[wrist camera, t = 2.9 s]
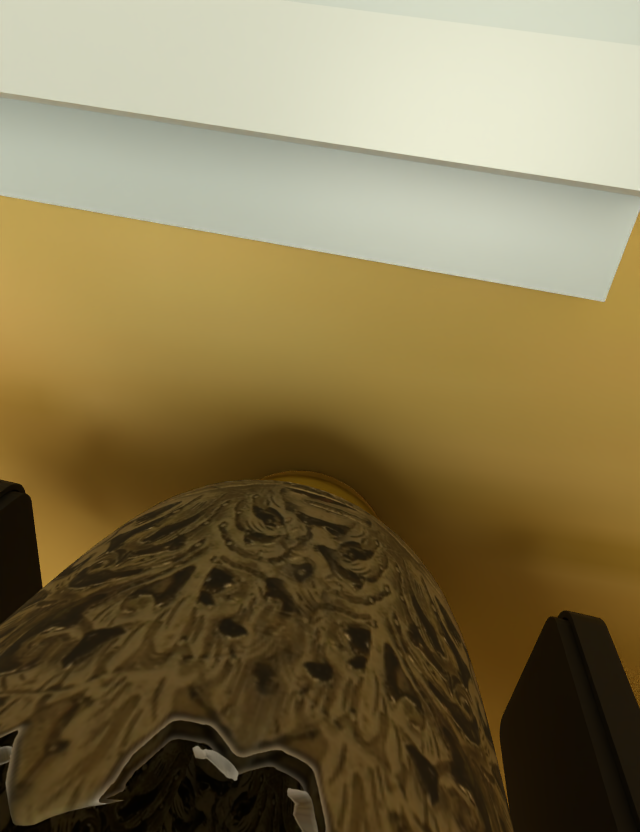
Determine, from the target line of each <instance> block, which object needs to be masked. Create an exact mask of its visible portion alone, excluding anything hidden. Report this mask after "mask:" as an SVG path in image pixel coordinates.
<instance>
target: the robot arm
mask: <svg viewBox="0 0 640 832" xmlns="http://www.w3.org/2000/svg"><path fill="white" fill-rule="evenodd" d="M41 589H42V580H41V572H40V564H39V556H38V548H37V540H36V533H35V525H34V517H33V509H32V501H31V498H30V496H29V495H27V494H26V493H25V490H24V488H23V487H22V485H20V484H17V483H13V482H8V481H4V480H0V624H1V623H2V622H4V621H5V620H6V619H7V618H8V617H9V616H11V615H12V614H13V613H14V612H15V611H17V610H18V609H19V608H20V607H21V606H22V605H24V604H25V603H26V602H27V601H28V600H29V599H31V598H32V597H33V596H34V595H35V594H37V593H38V592H39V591H40V590H41ZM500 744H501V751H502V758H503V766H504V773H505V780H506V788H507V795H508V803H509V810H510V816H511V820H512V824H513V829H514V832H640V709H639V706H638V704H637V701H636V699H635V696H634V694H633V691H632V689H631V686H630V684H629V681H628V679H627V676H626V674H625V671H624V669H623V666H622V664H621V661H620V659H619V656H618V654H617V651H616V649H615V646H614V644H613V641H612V639H611V636H610V634H609V631H608V629H607V627H606V625H605V623H604V621H603V620H601V619H600V618H596V617H592V616H588V615H583V614H579V613H575V612H570V611H562V612H561V613H560V614H559V616H558V618H557V617H551V616H550V617H549V618H548V619H547V621H546V623H545V625H544V627H543V629H542V631H541V634H540V636H539V638H538V640H537V642H536V644H535V647H534V649H533V651H532V653H531V655H530V657H529V660H528V662H527V664H526V666H525V668H524V670H523V673H522V675H521V677H520V679H519V681H518V684H517V686H516V688H515V690H514V692H513V694H512V697H511V699H510V701H509V703H508V705H507V707H506V710H505V712H504V714H503V716H502V719H501V724H500Z"/></svg>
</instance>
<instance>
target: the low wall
mask: <svg viewBox="0 0 640 832" xmlns="http://www.w3.org/2000/svg"><path fill="white" fill-rule="evenodd" d="M0 195H2V196H7V197H13V198H19V199H24V200H30V201H36V202H41V203H47V204H53V205H58V206H64V207H70V208H75V209H81V210H87V211H92V212H98V213H104V214H109V215H115V216H121V217H126V218H132V219H138V220H143V221H149V222H155V223H160V224H166V225H172V226H177V227H183V228H189V229H194V230H200V231H206V232H211V233H217V234H223V235H228V236H234V237H240V238H245V239H251V240H257V241H262V242H268V243H274V244H279V245H285V246H291V247H296V248H302V249H308V250H313V251H319V252H325V253H330V254H336V255H342V256H347V257H353V258H359V259H364V260H370V261H376V262H381V263H387V264H393V265H398V266H404V267H410V268H415V269H421V270H427V271H432V272H438V273H444V274H449V275H455V276H461V277H466V278H472V279H478V280H483V281H489V282H495V283H500V284H506V285H512V286H517V287H523V288H529V289H534V290H540V291H546V292H551V293H557V294H563V295H568V296H574V297H580V298H585V299H591V300H597V301H602V302H605V299H606V297H607V294H608V292H609V289H610V286H611V284H612V281H613V278H614V276H615V273H616V271H617V268H618V265H619V263H620V260H621V258H622V255H623V252H624V250H625V247H626V244H627V242H628V239H629V237H630V234H631V231H632V229H633V226H634V224H635V221H636V218H637V216H638V213H639V211H640V0H0Z"/></svg>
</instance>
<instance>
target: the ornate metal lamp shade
mask: <svg viewBox="0 0 640 832" xmlns="http://www.w3.org/2000/svg"><path fill="white" fill-rule="evenodd" d="M0 832H514V829H513V824H512V820H511V816H510V812H509V807H508V803H507V799H506V795H505V791H504V786H503V782H502V778H501V774H500V770H499V766H498V761H497V757H496V753H495V749H494V745H493V741H492V737H491V733H490V729H489V725H488V721H487V717H486V713H485V710H484V706H483V702H482V699H481V695H480V691H479V688H478V684H477V681H476V677H475V674H474V671H473V667H472V664H471V661H470V658H469V655H468V652H467V649H466V646H465V643H464V640H463V637H462V634H461V632H460V629H459V627H458V625H457V623H456V620H455V618H454V616H453V613H452V611H451V609H450V607H449V605H448V602H447V600H446V598H445V596H444V594H443V592H442V591H441V589H440V587H439V586H438V584H437V583H436V581H435V579H434V578H433V576H432V575H431V574H430V572H429V571H428V569H427V568H426V566H425V565H424V564H423V562H422V561H421V560H420V559H419V557H418V556H417V555H416V554H415V552H414V551H413V550H412V549H411V548H410V547H409V546H408V545H407V544H406V543H405V542H404V541H403V540H402V539H401V538H400V537H399V536H398V535H397V534H396V533H395V532H393V531H392V530H391V529H390V528H388V527H387V526H386V525H385V524H383V523H382V522H381V521H380V520H379V518H378V517H377V515H376V513H375V512H374V510H373V509H372V507H371V506H370V505H369V504H368V502H367V501H366V500H365V499H364V498H363V497H362V496H361V495H360V494H359V493H357V492H356V491H355V490H354V489H352V488H351V487H349V486H348V485H346V484H345V483H343V482H341V481H339V480H337V479H335V478H332V477H330V476H327V475H324V474H321V473H316V472H311V471H284V472H280V473H275V474H272V475H269V476H266V477H263V478H261V479H259V480H236V481H226V482H221V483H216V484H211V485H206V486H203V487H200V488H197V489H194V490H191V491H188V492H185V493H182V494H179V495H176V496H174V497H171V498H169V499H167V500H165V501H163V502H161V503H159V504H157V505H155V506H154V507H152V508H150V509H148V510H147V511H145V512H143V513H141V514H140V515H138V516H136V517H135V518H133V519H132V520H130V521H129V522H127V523H126V524H124V525H123V526H121V527H120V528H118V529H117V530H116V531H114V532H113V533H111V534H110V535H109V536H107V537H106V538H104V539H103V540H102V541H100V542H99V543H97V544H96V545H95V546H94V547H92V548H91V549H90V550H89V551H87V552H86V553H85V554H84V555H82V556H81V557H80V558H79V559H77V560H76V561H75V562H74V563H72V564H71V565H70V566H69V567H67V568H66V569H65V570H64V571H63V572H61V573H60V574H59V575H58V576H57V577H56V578H54V579H53V580H52V581H51V582H50V583H48V584H47V585H46V586H45V587H44V588H42V589H41V590H40V591H39V592H38V593H37V594H35V595H34V596H33V597H32V598H31V599H29V600H28V601H27V602H26V603H25V604H24V605H22V606H21V607H20V608H19V609H18V610H17V611H15V612H14V613H13V614H12V615H11V616H9V617H8V618H7V619H6V620H5V621H4V622H2V623H1V624H0Z"/></svg>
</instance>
